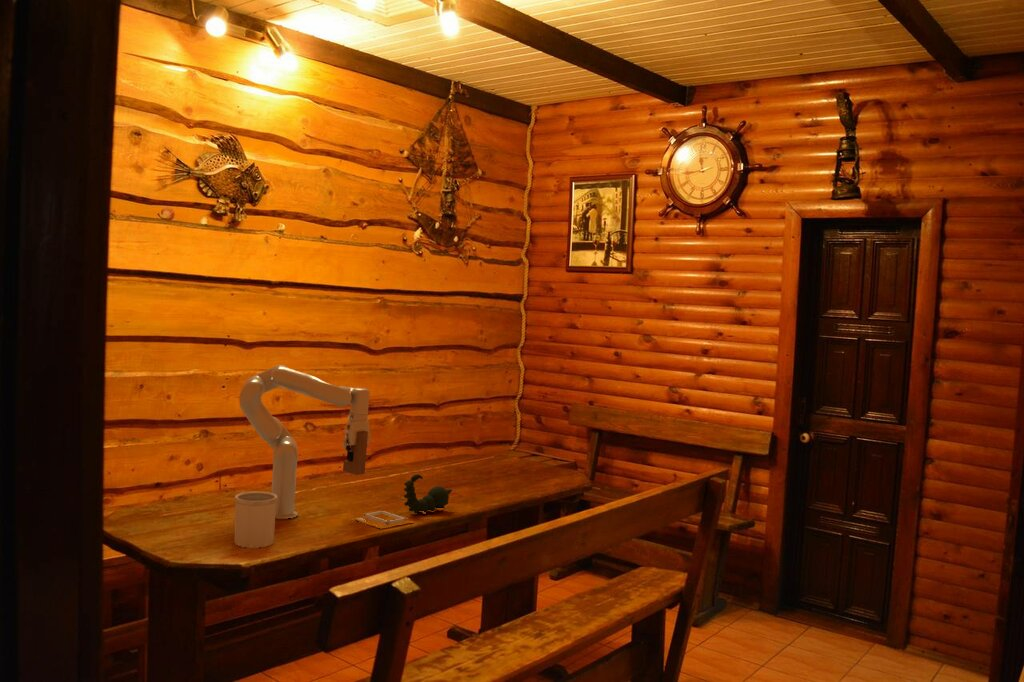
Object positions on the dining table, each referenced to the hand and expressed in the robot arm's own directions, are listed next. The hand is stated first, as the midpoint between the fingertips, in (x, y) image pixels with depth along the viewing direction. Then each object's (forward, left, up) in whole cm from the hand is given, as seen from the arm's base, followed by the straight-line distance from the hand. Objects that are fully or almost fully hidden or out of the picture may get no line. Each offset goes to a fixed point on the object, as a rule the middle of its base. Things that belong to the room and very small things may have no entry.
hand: (354, 459), depth 358 cm
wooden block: (0, 0, -6) cm, 6 cm away
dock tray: (+5, -15, -24) cm, 29 cm away
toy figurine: (+31, -14, -24) cm, 42 cm away
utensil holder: (-54, -11, -24) cm, 60 cm away
